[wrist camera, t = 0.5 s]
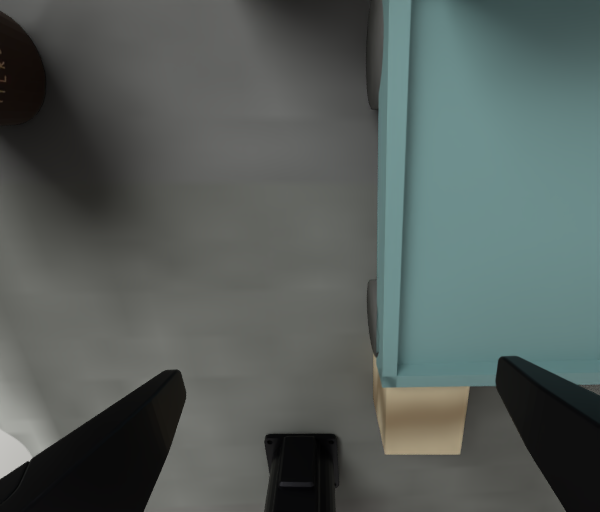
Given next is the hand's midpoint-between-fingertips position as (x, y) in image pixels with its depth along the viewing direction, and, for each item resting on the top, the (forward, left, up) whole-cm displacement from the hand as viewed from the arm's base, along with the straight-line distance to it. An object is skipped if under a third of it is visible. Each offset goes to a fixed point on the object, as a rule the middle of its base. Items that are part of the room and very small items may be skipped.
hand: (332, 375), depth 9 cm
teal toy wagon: (+3, -10, -13) cm, 17 cm away
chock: (-11, -6, -13) cm, 18 cm away
